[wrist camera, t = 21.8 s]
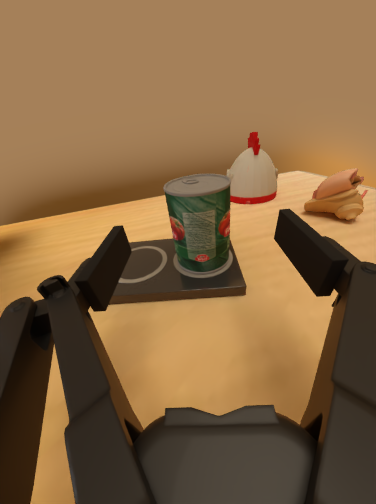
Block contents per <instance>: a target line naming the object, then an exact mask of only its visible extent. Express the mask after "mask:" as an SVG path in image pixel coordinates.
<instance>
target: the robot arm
mask: <svg viewBox="0 0 376 504" xmlns="http://www.w3.org/2000/svg"><path fill="white" fill-rule="evenodd" d="M274 239H275V241H276V242H277V243H278V245H279V246H280V248H281V249H282V250H283V252H284V253H285V254H286V256H287V257H288V258H289V260H290V261H291V262H292V264H293V265H294V266H295V268H296V269H297V271H298V272H299V273H300V275H301V276H302V277H303V279H304V280H305V281H306V283H307V284H308V285H309V287H310V288H311V290H312V291H313V292H314V294H315V295H316V296H317V297H319V296H330V295H331V293H332V291H333V289H335V290H336V291H337V292H338V295H337V297H336V299H335V301H334V303H333V304H332V307H334V308H333V312H332V316H331V319H330V323H329V327H328V331H327V335H326V338H325V342H324V346H323V350H322V354H321V358H320V361H319V365H318V369H317V373H316V377H315V380H314V384H313V388H312V392H311V396H310V400H309V403H308V406H307V409H306V411H305V413H304V415H303V418H302V421H301V424H300V425H299V424H297V423H296V422H294V421H293V420H291V419H289V418H288V417H286V416H284V415H281V414H279V413H276V412H275V409H274V405H256V406H244V407H242V408H239V409H237V410H234V411H232V412H229V413H227V414H224V415H221V416H217V415H214V414H210V413H207V412H204V411H201V410H198V409H195V408H192V407H186V408H165V415H164V416H162V417H160V418H158V419H156V420H155V421H153V422H152V423H151V424H149V425H148V426H147V427H146V428H145V429H144V430H143V428H142V426H141V424H140V422H139V420H138V419H137V417H136V415H135V414H134V412H133V410H132V408H131V406H130V403H129V401H128V399H127V397H126V394H125V392H124V390H123V388H122V385H121V383H120V381H119V379H118V376H117V374H116V372H115V370H114V368H113V365H112V363H111V361H110V359H109V356H108V354H107V352H106V350H105V347H104V345H103V343H102V341H101V338H100V336H99V334H98V332H97V329H96V327H95V325H94V323H93V320H92V318H91V316H90V314H89V312H88V309H89V308H90V306H91V308H92V309H93V311H94V312H96V311H106V309H107V307H108V304H109V302H110V300H111V298H112V295H113V293H114V291H115V289H116V286H117V284H118V282H119V280H120V277H121V275H122V273H123V271H124V268H125V266H126V264H127V262H128V259H129V257H130V255H131V253H132V250H131V247H130V245H129V242H128V239H127V236H126V233H125V231H124V228H123V226H114V227H113V229H112V230H111V231H110V233H109V234H108V235H107V237H106V238H105V240H104V241H103V242H102V244H101V245H100V246H99V248H98V249H97V251H96V252H95V253H94V255H93V256H92V257H91V258H88V259H86V260H85V261H84V262H83V263H82V264H81V265H80V266H79V268H78V269H77V270H76V273H74V274H73V276H72V277H71V278H70V279H69V281H68V282H67V281H66V280H65V278H64V277H63V276H61V275H57V276H53V277H50V278H48V279H46V280H44V281H43V282H42V283H40V285H39V286H38V288H37V291H38V292H39V293H40V294H41V295H42V296H43V297H44V299H42V300H39V301H35V302H34V301H33V300H32V299H31V298H30V297H23V298H20V299H18V300H15V301H14V302H12V303H11V304H10V305H8V306H7V307H6V308H5V310H4V311H3V313H2V316H1V318H0V504H30V502H31V496H32V491H33V486H34V479H35V472H36V465H37V458H38V451H39V444H40V437H41V430H42V423H43V417H44V410H45V403H46V396H47V389H48V382H49V375H50V368H51V361H52V354H53V347H54V344H55V349H56V354H57V359H58V364H59V369H60V374H61V379H62V384H63V389H64V394H65V399H66V404H67V409H68V414H69V424H68V426H67V427H66V428H65V433H64V435H65V444H66V450H67V456H68V462H69V468H70V474H71V480H72V486H73V492H74V498H75V504H376V264H373V263H370V262H361V261H360V260H358V259H357V258H356V257H355V256H353V255H352V254H351V253H350V252H348V251H347V250H346V249H345V248H343V247H342V246H340V244H338V243H337V242H336V241H335V240H333V239H331V238H329V237H326V236H324V237H322V236H321V235H320V234H319V233H317V232H316V231H315V230H314V229H313V228H312V227H310V226H309V225H308V224H307V223H306V222H304V221H303V220H302V219H301V218H300V217H299V216H297V215H296V214H295V213H294V212H293V211H291V210H290V209H282V210H280V211H279V216H278V221H277V226H276V231H275V236H274Z"/></svg>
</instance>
